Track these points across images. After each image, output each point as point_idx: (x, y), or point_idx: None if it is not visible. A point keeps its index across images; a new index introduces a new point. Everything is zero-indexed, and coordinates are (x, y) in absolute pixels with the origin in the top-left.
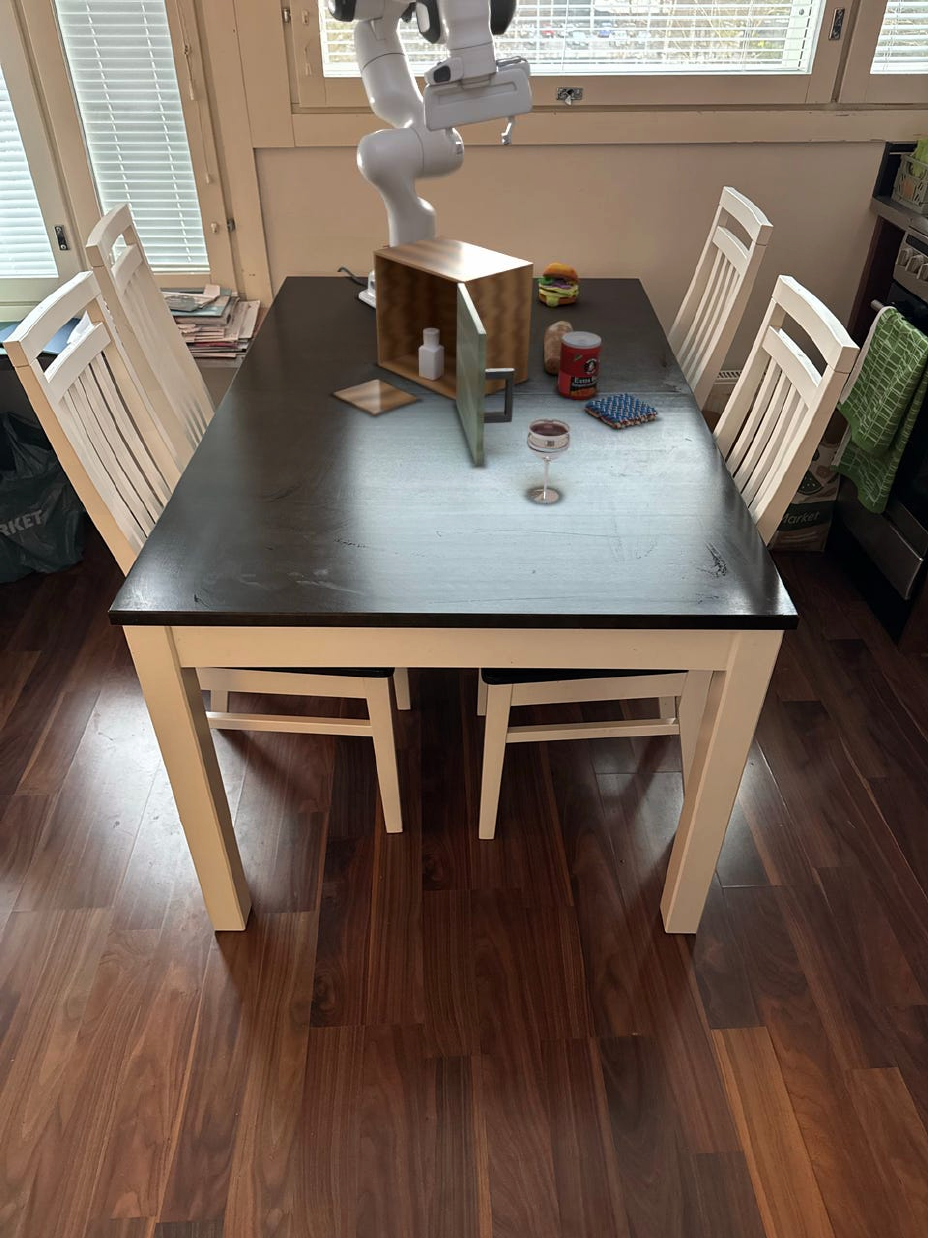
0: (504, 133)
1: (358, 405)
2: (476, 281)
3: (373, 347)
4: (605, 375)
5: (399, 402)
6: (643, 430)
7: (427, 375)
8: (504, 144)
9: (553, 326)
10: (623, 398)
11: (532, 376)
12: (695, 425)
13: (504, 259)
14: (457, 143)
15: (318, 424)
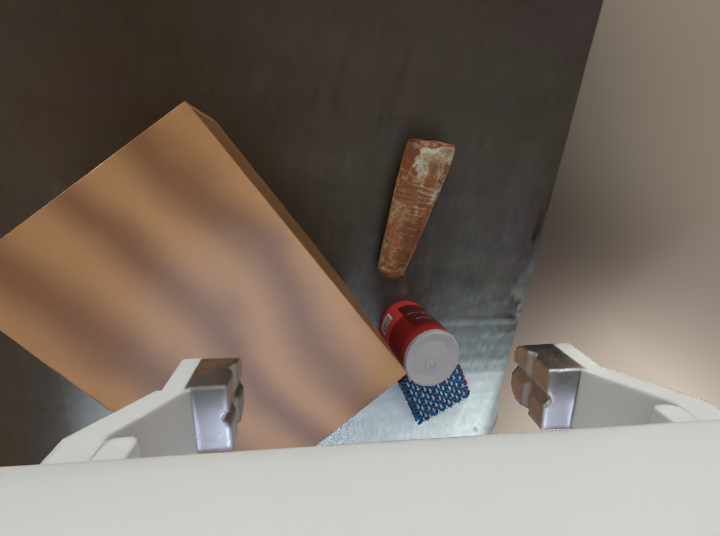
0: (567, 375)
1: (78, 387)
2: None
3: (62, 114)
4: (453, 267)
5: None
6: (442, 414)
7: None
8: (514, 391)
9: (423, 159)
10: None
11: (355, 269)
12: (495, 398)
13: (349, 350)
14: (205, 440)
15: (23, 438)
